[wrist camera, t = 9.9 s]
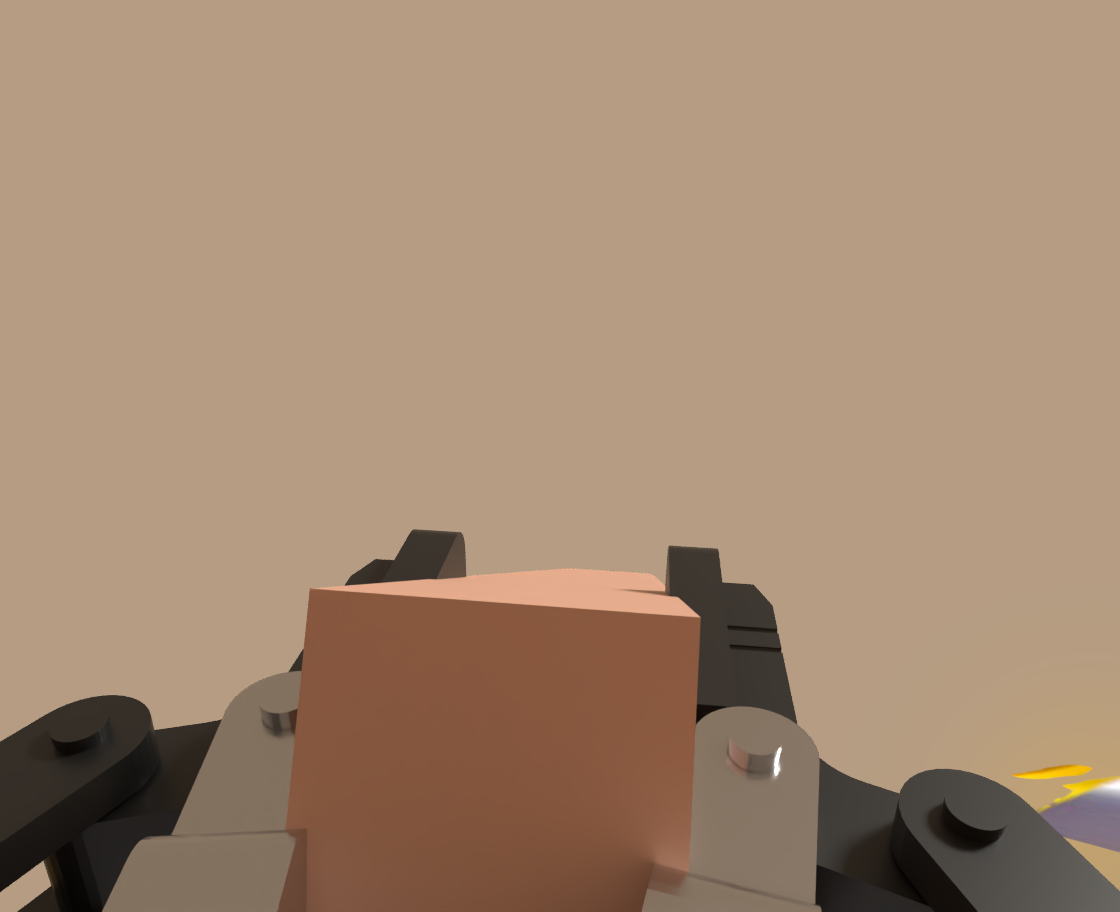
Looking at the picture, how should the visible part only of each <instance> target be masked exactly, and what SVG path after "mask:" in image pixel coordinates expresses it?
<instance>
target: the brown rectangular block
mask: <svg viewBox="0 0 1120 912" xmlns="http://www.w3.org/2000/svg"><path fill="white" fill-rule="evenodd" d="M700 623H701V617H700V616H699V615H697V614H696V613H695V612H694V611H693V610H692V609H691V608H690V607H688V606H687V605H686V604H685V603H684V602H683V601H682V600H681V599H679V598H678V597H671V596H669V595H668V594H667V593H666V592H665V585H664V584H662V583H661V582H660V581H659V580H658V579H657V578H656V577H654V576H653V575H652V574H646V573H632V572H617V571H603V570H589V569H574V568H564V569H552V570H538V571H526V572H513V573H500V574H488V575H476V576H466V577H461V578H449V579H437V580H435V579H425V580H412V581H399V582H387V583H374V584H361V585H349V586H337V587H323V588H312V589H310V593H309V603H308V612H307V623H306V632H305V642H304V652H303V662H302V671H301V681H300V691H299V701H298V711H297V721H296V731H295V740H294V750H293V760H292V770H291V780H290V790H289V799H288V809H287V819H286V829H307V887H306V912H642V908H643V904H644V900H645V896H646V892H647V888H648V884H649V880H650V877H651V873H652V870H653V868H654V866H655V864H659V865H663V866H667V867H671V868H675V869H679V870H683V871H687V872H689V857H690V836H691V815H692V794H693V772H694V751H695V730H696V708H697V687H698V666H699V644H700Z"/></svg>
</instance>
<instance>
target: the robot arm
mask: <svg viewBox="0 0 1120 912" xmlns="http://www.w3.org/2000/svg"><path fill="white" fill-rule="evenodd" d="M461 577H466V559H465V543H464V537H463V535H462V533H461V532H447V531H430V530H412V531H411V533H410V534H409V536H408V537H407V539H406V541H405V543H404V545H403V546H402V548H401V550H400V551H399V553H398V555H397V556H396V558H395V560H379V559H375V560H374V561H372V562H371V563H369V564H368V565H366V566H365V567H364V568H362V569H361V570H359V571H358V572H356V573H355V574H353V575H352V576H351V577H350V578H349V580H348V581H347V583H346V584H345V586H349V585H361V584H374V583H387V582H399V581H412V580H425V579H435V580H437V579H449V578H461ZM665 592H666V593H667V594H668V595H669V596H671V597H678V598H679V599H681V600H682V601H683V602H684V603H685V604H686V605H687V606H688V607H690V608H691V609H692V610H693V611H694V612H695V613H696V614H697V615H699V616H700V617H701V623H700V644H699V666H698V687H697V708H696V730H695V751H694V772H693V794H692V815H691V836H690V857H689V872H687V871H683V870H679V869H675V868H671V867H667V866H663V865H659V864H655V866H654V868H653V870H652V873H651V877H650V880H649V884H648V888H647V892H646V896H645V900H644V904H643V908H642V912H1120V891H1119V890H1118V889H1117V888H1116V887H1115V886H1114V885H1112V884H1111V883H1110V882H1109V881H1108V880H1107V879H1106V878H1105V877H1104V876H1103V875H1102V874H1101V873H1100V872H1099V871H1098V870H1097V869H1096V868H1095V867H1094V866H1093V865H1091V864H1090V863H1089V862H1088V861H1087V860H1086V859H1085V858H1084V857H1083V856H1082V855H1081V854H1080V853H1079V852H1078V851H1077V850H1076V849H1075V848H1074V847H1073V846H1072V845H1071V844H1070V843H1069V842H1067V841H1066V840H1065V839H1064V838H1063V837H1062V836H1061V835H1060V834H1059V833H1058V832H1057V831H1056V830H1055V829H1054V828H1053V827H1052V826H1051V825H1050V824H1049V823H1048V822H1047V821H1046V820H1045V819H1043V818H1042V817H1041V816H1040V815H1039V814H1038V813H1037V812H1036V811H1035V810H1034V809H1033V808H1032V807H1031V806H1030V805H1029V804H1027V803H1026V802H1025V801H1024V800H1023V799H1022V798H1021V797H1019V796H1018V795H1016V794H1015V793H1013V792H1012V791H1011V790H1009V789H1008V788H1006V787H1004V786H1002V785H1000V784H999V783H997V782H995V781H992V780H990V779H988V778H985V777H982V776H980V775H977V774H973V773H970V772H965V771H961V770H952V769H934V770H928V771H924V772H921V773H918V774H916V775H914V776H913V777H911V778H910V779H909V780H908V781H907V782H906V783H905V784H904V785H903V787H902V789H901V791H900V794H899V793H896V792H893V791H890V790H886V789H884V788H881V787H877V786H874V785H871V784H868V783H865V782H862V781H860V780H857V779H854V778H852V777H849V776H847V775H845V774H843V773H841V772H839V771H838V770H836V769H834V768H833V767H831V766H830V765H828V764H827V763H825V762H824V761H823V760H822V759H820V758H819V754H818V751H817V748H816V746H815V744H814V742H813V741H812V739H811V738H810V737H809V736H808V734H807V733H806V732H805V731H804V730H803V729H802V728H801V727H800V726H798V725H797V720H796V715H795V711H794V706H793V701H792V696H791V692H790V687H789V682H788V677H787V673H786V668H785V663H784V659H783V654H782V653H781V645H780V639H779V634H778V633H777V625H776V620H775V615H774V611H773V606H772V605H771V604H770V602H769V601H768V600H767V599H766V598H765V597H764V596H763V595H762V594H761V592H760V591H759V590H758V589H757V588H756V587H755V586H754V585H750V584H736V583H722V577H721V568H720V559H719V552H718V549H713V548H697V547H681V546H669V547H668V556H667V570H666V585H665ZM303 652H304V649H303V651H302V652H301V653H300V655H299V656H298V658H297V659H296V661H295V663H294V664H293V666H292V667H291V669H290V670H289V672H287V673H281V674H277V675H274V676H271V677H267V678H265V679H262V680H260V681H258V682H256V683H254V684H252V685H250V686H249V687H247V688H246V689H244V690H243V691H242V692H241V693H240V694H238V695H237V696H236V697H235V698H234V699H233V701H232V702H231V703H230V704H229V706H228V708H227V710H226V711H225V714H224V716H223V718H222V719H221V720H218V721H213V722H207V723H201V724H194V725H187V726H180V727H173V728H167V729H160V730H154V727H153V723H152V718H151V714H150V712H149V709H148V708H147V707H146V706H145V704H143V703H141V702H140V701H138V700H136V699H134V698H130V697H126V696H117V695H107V696H98V697H91V698H87V699H83V700H79V701H76V702H73V703H70V704H67V705H65V706H62V707H60V708H58V709H56V710H54V711H52V712H50V713H48V714H46V715H45V716H43V717H41V718H39V719H38V720H36V721H35V722H33V723H31V724H29V725H28V726H26V727H24V728H23V729H21V730H19V731H18V732H16V733H14V734H13V735H11V736H9V737H7V738H6V739H4V740H2V741H1V742H0V892H1V891H2V890H3V889H5V888H6V887H8V886H9V885H10V884H12V883H13V882H15V881H16V880H17V879H19V878H20V877H21V876H23V875H24V874H26V873H27V872H28V871H30V870H31V869H32V868H34V867H35V866H36V865H38V864H39V863H41V862H42V861H43V860H44V864H45V867H46V870H47V873H48V876H49V879H50V882H51V887H49V888H48V889H47V890H45V891H44V892H43V893H42V894H40V895H39V896H38V897H36V898H35V899H34V900H32V901H31V902H30V903H28V904H27V905H26V906H24V907H23V908H22V909H20V910H19V911H18V912H306V887H307V829H286V819H287V809H288V799H289V790H290V780H291V770H292V760H293V750H294V740H295V731H296V721H297V711H298V701H299V691H300V681H301V671H302V662H303Z"/></svg>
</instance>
